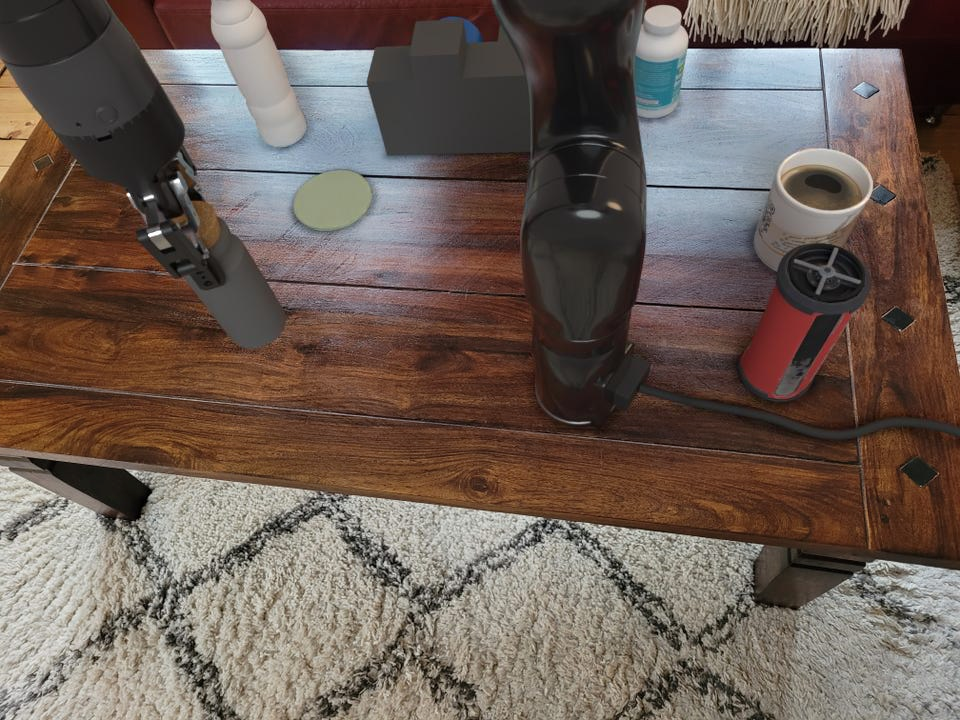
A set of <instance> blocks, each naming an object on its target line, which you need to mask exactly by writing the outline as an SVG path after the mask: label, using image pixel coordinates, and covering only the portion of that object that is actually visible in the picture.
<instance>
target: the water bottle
mask: <svg viewBox="0 0 960 720" xmlns="http://www.w3.org/2000/svg"><path fill="white" fill-rule="evenodd" d="M210 2H211V7H210V15H211V17H210V29H211V34H212V36H213V38H214V41H215V42H216V43H217V44H218V45H219V49H220V51H221V53H222V57H223V58H224V61H225V63H226V66H227V67H228V70H229V72H230V75H231V76H232V78H233V80H234V82H235V84H236V86H237V88H238V90H239V91H240V94H241V95H242V97H243V99H244V100H245V103H246V107H247V109H248V112H249V114H250V115H251V118H252V119H253V120H254V122H255V125H256V126H255V127H256V128H257V131H258V133H259V136H260V137H261V140H262V141H263V142H264V143H265V144H266V145H268V146H270V147H275V148H286V147H290V146H293V145H294V144H296V143H298V142H299V141H300V140H302V139H303V137H304V136H305V134H306V132H307V129H308V125H307V121H306V118H305V115H304V114H303V111H302V110H301V107H300V106H299V102H298V98H297V96H296V94H295V91H294V89H293V87H292V86H291V84H290V81H289V78H288V75H287V71H286V68H285V65H284V63H283V61H282V58H281V55H280V53H279V51H278V48H277V46H276V43H275V41H274V39H273V37H272V35H271V32H270V30H269V29H268V23H267V20H266V17H265V14H264V13H263V12H262V10H260V8H259V7H258V6H256V5H255V4H254V3H253V2H252V1H251V0H210Z"/></svg>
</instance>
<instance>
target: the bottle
mask: <svg viewBox="0 0 960 720" xmlns="http://www.w3.org/2000/svg"><path fill="white" fill-rule="evenodd" d="M191 203H192V205H193V207H194V209H195V211H196V213H197V215H198V217H199V219H200V221H201V224H200V227H199V230H198V232H199V234H200V236H201V238H202V240H203V242H204V244H205V246H206V247H207V249H208V251H209V252H210V254H211V255H212V257H213V258H214V260H215V261H216V263H217V264H218V265H219V267H220V268H221V270H222V271H223V273H224V274H225V278H226V283H225V285H223V286H220V287H217V288H213V289H210V290H201V289H200V288H199V287H198V285H197V284H196V283H195V281H194V280H193V279H192V277H191V276H190V275H186V276H183V277H182V278H183V279H184V280H185V282H186V283H187V284H188V286H189V287H190V288H191V290H192V291H193V292H194V293H195V295H196V296H197V297H198V299H199V300H200V301H201V302H202V304H203V305H204V306H205V307H206V309H207V310H208V312H209V313H210V314H211V316H212V317H213V319H214V320H215V321H216V323H218V325H219V326H220V327H221V328H222V330H223V331H224V332H225V334H226V335H227V336H228V337H229V339H231V341H232V342H233V343H234V344H235V345H236V346H239V347H240V348H243V349H249V350H252V349H260V348H263V347H265V346H267V345H270V344H272V343H273V342H275V340H277V339H278V338H279V337H280V336H281V334H282V333H283V331H284V329H285V326H286V322H287V315H286V312H285V309H284V308H283V306H282V304H281V303H280V301H279V299H278V298H277V296H276V294H275V292H274V291H273V289H272V288H271V286H270V283H269V282H268V281H267V279H266V277H265V276H264V274H263V273H262V271H261V269H260V268H259V266H258V264H257V263H256V262H255V260H254V258H253V256H252V255H251V253H250V251H249V250H248V248H247V247H246V246H245V244H244V242H243V241H242V240H241V238H239V237H238V236H237V235H236V234H233V233H232V232H231V229H230V228H229V225H228V224H227V222H226V221H225V220H224V219H223V218H221V217H219V216H218V215H217V211H216V210H215V208H214V206H213V205H211V204H210V203H208V202H207V201H206V202H203V201H191ZM170 220H173V221H174V223H175V224H176V223H180V222H183V221H186V220H187V217H186V215H185V213H184V214H183V215H182V216H180V217H177V218H174V219H170ZM186 237H187V238H188V239H189V240H190V242H191V243H192V241H191V239H190V237H189V236H186ZM192 244H193V243H192Z"/></svg>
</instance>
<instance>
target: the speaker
mask: <svg viewBox="0 0 960 720" xmlns="http://www.w3.org/2000/svg"><path fill="white" fill-rule="evenodd" d="M871 290H872V277H871V274H870V272H869V269H868V268H867V266H866V265H865V264H864V262H863V261H862V260H861V259H860V258H859V257H858V256H857V255H856V254H854V253H852V252H851V251H850V250H848V249H846V248H844V247H843V248H842V247H839V246H836V245H832V244H825V243H810V244H804V245H800V246H798V247H795V248H793V249H792V250H790V251H789V252H787V253H786V254H785V255H784V257H783V258H782V259H781V261H780V263H779V266H778V270H777V272H776V280H775V283H774V286H773V288H772V291H771V293H770V295H769V298H768V301H767V304H766V305H765V309H764V311H763V313H762V316H761V318H760V320H759V323H758V325H757V327H756V329H755V331H754V333H753V335H752V338H751V340H750V342H749V343H748V345H746V347H745V348H744V349H743V350H742V351H741V354H740V356H739V358H738V361H737V372H738V376H739V378H740V380H741V382H742V384H743V385H744V386H745V387H746V388H747V390H749V392H751V393H752V394H753V395H755V396H757V397H759V398H762V399H764V400H765V401H766V400H767V401H771V402H776V403H778V402H779V403H781V402H782V403H783V402H784V403H785V402H791V401H794V400H797V399H799V398H800V397H802V396H803V395H805V394H806V393H807V391H809V389H810V388H811V386H812V384H813V383H814V380H815V376H816V374H817V373H818V371H819V370H820V369H821V366H822V365H823V363H824V362H825V361H826V360H827V359H826V358H827V357H828V355H829V354H830V353H831V351H832V349H833V348H834V346H835V344H836V343H837V342H838V340H839V338H840V337H841V336H842V333H843V332H844V330H845V328H847V325H848V324H849V323H850V321H851V320H852V318H853V316H854V315H855V313H856V312H857V311H858V310H859V309H860V308H861V307H862V306H863V304H864V303H865V301H867V298H868V297H869V295H870V293H871Z"/></svg>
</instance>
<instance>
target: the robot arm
mask: <svg viewBox="0 0 960 720" xmlns="http://www.w3.org/2000/svg"><path fill="white" fill-rule="evenodd" d="M490 4H491V6H492V8H493V11H494V13H495V15H496V18H497V20H498V22H499V25H501V26H502V28H503V30H504V32H505V34H506V36H507V38H508V40H509V42H510V43H511V45H512V47H513V49H514V50H515V52H516V54H517V56H518V58H519V60H520V62H521V65H522V68H523V70H524V74H525V78H526V82H527V90H528V98H529V110H530V131H531V141H530V152H529V159H528V161H529V162H528V167H527V173H526V174H527V175H526V176H527V177H526V184H525V192H524V199H523V208H522V215H521V216H522V217H521V221H520V222H521V223H520V231H519V249H520V251H519V252H520V263H521V271H522V273H521V274H522V280H523V287H524V288H523V290H524V295H525V299H526V301H527V303H528V305H529V307H530V308H529V309H530V323H531V338H532V340H531V341H532V353H533V367H534V368H533V369H534V393H535V398H536V401H537V404H538V406H539V408H540V409H541V410H542V412H543V413H544V414H545V415H546V416H547V417H548V418H550V420H553V421H554V422H556V423H558V424H559V425H563V426H566V427H569V428H570V427H572V428H587V427H592V428H593V429H594V428H595V429H596V430H601V429H602V428H603V427H604V426H605V424H606V422H607V420H608V419H609V417H610V416H611V415H612V413H613V412H614V411H615V409H617V407H618V408H620V409H622V410H624V411H627V410H628V408H630V406H631V404H632V402H633V401H634V399H635V397H636V396H637V394H638V393H640V394H643V395H647V396H651V397H654V398H657V399H659V400H664V401H668V402H672V403H676V404H679V405H684V406H689V407H694V408H698V409H703V410H709V411H715V412H720V413H726V414H731V415H736V416H740V417H747V418H751V419H756V420H759V421H763V422H767V423H770V424H774V425H777V426H780V427H783V428H785V429H788V430H790V431H793V432H795V433H799V434H802V435H804V436H809V437H812V438H816V439H823V440H831V441H841V440H842V441H843V440H850V439H855V438H860V437H862V436H865V435H869V434H872V433H874V432H875V433H876V432H878V431H881V430H885V429H890V428H917V429H926V430H931V431H936V432H940V433H945V434H947V435H948V434H949V435H951V436H954V437H956V438H958V439H960V426H958V425H955V424H953V423H948V422H945V421H940V420H935V419H929V418H921V417H908V416H892V417H887V418H882V419H878V420H877V419H876V420H874V421H872V422H868V423H865V424H863V425H860V426H856V427H853V428H847V429H825V428H820V427H814V426H811V425H808V424H805V423H802V422H799V421H797V420H793V419H790V418H788V417H785V416H782V415H780V414H777V413H773V412H770V411H765V410H761V409H756V408H752V407H747V406H742V405H738V404H731V403H726V402H720V401H714V400H709V399H705V398H699V397H694V396H690V395H686V394H681V393H677V392H674V391H669V390H667V389H662V388H659V387H655V386H652V385H649V384H647V383H645V382H646V380H647V379H648V377H649V375H650V370H651V367H652V363H651V362H649V361H646V360H645V359H642V358H640V357H638V356H636V355H634V356H633V354H634V349H635V343H634V342H633V341H631V340H629V339H628V337H629V332H630V331H629V330H630V324H631V318H632V313H633V312H632V311H633V307H634V306H635V304H636V302H637V300H638V294H639V288H640V283H641V279H642V272H643V267H644V261H645V255H646V245H647V205H648V204H647V203H648V202H647V201H648V199H647V194H648V193H647V191H648V190H647V187H648V185H647V183H648V182H647V181H648V180H647V170H646V163H645V156H644V150H643V143H642V137H641V129H640V122H639V116H638V113H637V102H636V92H635V74H634V70H635V56H636V48H637V44H638V39H639V34H640V30H641V25H642V24H643V22H644V15H645V12H646V11H645V10H646V5H647V0H490ZM0 60H1V62H2V63H3V65H4V66H5V68H6V69H7V71H8V72H9V74H10V76H11V77H12V79H13V81H14V82H15V84H16V85H17V87H18V89H19V90H20V92H21V93H22V94H23V96H24V97H25V99H26V100H27V101H28V102H29V104H30V105H31V106H32V107H33V108H34V109H35V111H36V112H37V113H38V115H39V116H40V117H41V118H42V119H43V121H44V122H45V124H46V125H47V126H48V127H49V128H50V130H51V131H52V132H53V133H54V135H55V136H56V137H57V139H58V140H59V141H60V142H61V143H62V145H63V146H64V147H65V148H66V149H67V151H68V152H69V153H70V155H71V156H72V157H73V158H74V159H75V161H76V162H77V164H79V166H80V167H81V169H82V170H83V171H84V172H85V173H86V174H87V175H88V176H90V177H91V178H93V179H94V180H96V181H99V182H103V183H106V184H112V185H116V186H120V187H122V188H124V191H125V195H126V196H127V198H128V200H129V202H130V203H131V205H132V207H133V209H135V210H137V211H138V212H139V213H140V215H141V217H142V219H143V221H144V223H145V224H146V226H144V227H141V228H140V227H139V228H137V229H136V230H135V235H136V239H137V241H138V242H139V244H140V245H141V246H142V247H143V248H144V249H145V250H146V252H148V253H149V254H150V255H151V256H152V257H153V258H154V260H156V261H157V263H159V264H160V266H161V267H163V269H164V270H165V271H166V272H167V273H168V274H169V275H170V276H171V277H172V278H173V279H174V280H178V279H182V278H184V277H183V276H186V275H190V276H191V277H192V279H193V280H194V281H195V283H196V284H197V285H198V287H199V288H200V289H201V290H210V289H213V288H217V287H220V286H223V285H225V283H226V278H225V274H224V273H223V271H222V270H221V268H220V267H219V265H218V264H217V263H216V261H215V260H214V258H213V257H212V255H211V254H210V252H209V251H208V249H207V247H206V246H205V244H204V242H203V240H202V238H201V236H200V234H199V232H198V230H199V227H200V224H201V221H200V219H199V217H198V215H197V213H196V211H195V209H194V207H193V205H192V203H191V201H203V202H206V203H207V201H206V200H205V198H204V197H203V187H202V185H201V184H199V182H198V181H197V179H196V176H198V168H197V166H196V164H194V162H193V160H192V159H191V156H190V155H189V153H188V151H187V149H186V147H185V146H184V142H185V137H186V129H185V124H184V122H183V120H182V118H181V116H180V114H179V113H178V111H177V110H176V108H175V106H174V104H173V103H172V101H171V99H170V98H169V96H168V94H167V93H166V91H165V89H164V88H163V86H162V84H161V83H160V81H159V79H158V77H157V76H156V74H155V72H154V71H153V69H152V68H151V66H150V64H149V62H148V61H147V59H146V57H145V56H144V54H143V52H142V50H141V49H140V47H139V45H138V43H137V42H136V40H135V39H134V37H133V36H132V34H131V33H130V32H129V30H128V29H127V28H126V26H125V25H124V24H123V23H122V22H121V20H120V19H119V18H118V16H117V15H116V14H115V12H114V10H113V8H111V6H110V5H109V3H108V1H107V0H0ZM184 213H185V215H186V217H187V220H186V221H183V222H180V223H176V224H175V223H174V221H173V220H170V219H174V218H177V217H180V216H182V215H183V214H184ZM186 236H189V237H190V239H191V241H192V243H193V244H192V243H191V242H190V240H189V239H188V238H187V237H186Z"/></svg>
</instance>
